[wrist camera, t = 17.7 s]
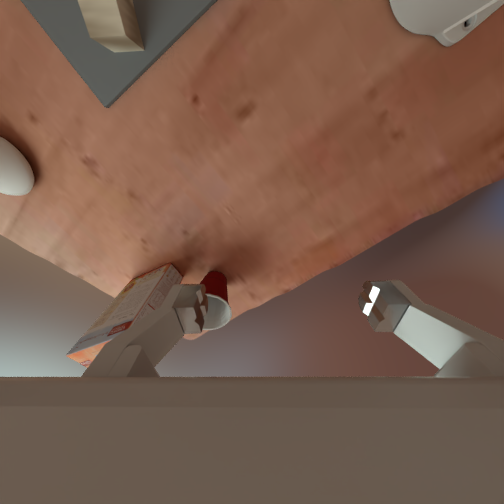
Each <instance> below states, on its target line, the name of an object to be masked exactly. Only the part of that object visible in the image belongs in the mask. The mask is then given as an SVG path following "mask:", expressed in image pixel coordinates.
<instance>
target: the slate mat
mask: <svg viewBox="0 0 504 504" xmlns="http://www.w3.org/2000/svg"><path fill="white" fill-rule="evenodd" d="M21 1H22V3H23V4H24V5H25V6H26V8H27V9H28V10H29V12H30V13H31V14H32V15H33V17H34V18H35V19H36V20H37V22H38V23H39V24H40V25H41V27H42V28H43V29H44V31H45V32H46V33H47V34H48V36H49V37H50V38H51V39H52V41H53V42H54V43H55V45H56V46H57V47H58V48H59V50H60V51H61V52H62V53H63V55H64V56H65V57H66V59H67V60H68V61H69V62H70V64H71V65H72V66H73V67H74V69H75V70H76V71H77V72H78V74H79V75H80V76H81V78H82V79H83V80H84V81H85V83H86V84H87V85H88V86H89V88H90V89H91V90H92V92H93V93H94V94H95V95H96V97H97V98H98V99H99V100H100V102H101V103H102V104H103V105H104V107H106V108H109V107H110V106H111V105H112V104H113V103H114V102H115V101H116V100H117V99H118V98H119V97H120V96H121V95H122V94H123V93H124V92H125V91H126V90H127V89H128V88H129V87H130V86H131V85H132V84H133V83H134V82H135V81H136V80H137V79H138V78H139V77H140V76H141V75H142V74H143V73H144V72H145V71H146V70H147V69H148V68H149V67H150V66H151V65H152V64H153V63H154V62H155V61H156V60H157V59H158V58H159V57H160V56H161V55H162V54H164V53H165V52H166V51H167V50H168V49H169V48H170V47H171V46H172V45H173V44H174V43H175V42H176V41H177V40H178V39H179V38H180V37H181V36H182V35H183V34H184V33H185V32H186V31H187V30H188V29H189V28H190V27H191V26H192V25H193V24H194V23H195V22H196V21H197V20H198V19H199V18H200V17H201V16H202V15H203V14H204V13H205V12H206V11H207V10H208V9H209V8H210V7H211V6H212V5H213V4H214V3H215V2H216V1H217V0H133V4H134V9H135V13H136V17H137V21H138V25H139V29H140V34H141V38H142V42H143V46H144V50H145V51H131V52H115V53H114V52H113V51H111V50H109V49H108V48H106V47H105V46H103V45H101V44H100V43H98V42H97V41H95V40H93V39H92V38H90V35H89V32H88V29H87V26H86V24H85V21H84V18H83V15H82V12H81V9H80V6H79V3H78V0H21Z"/></svg>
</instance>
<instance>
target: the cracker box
mask: <svg viewBox="0 0 504 504" xmlns="http://www.w3.org/2000/svg"><path fill="white" fill-rule="evenodd" d="M182 279H183V277H182V275H181V274H180V273H179V272H178V271H177V270H176V268H175V267H174V266H173V265H172V264H171V263H168V264H166V265H164V266H162V267H159V268H157V269H155V270H153V271H151V272H148V273H146V274H144V275H141V276H139V277H137V278H135V279H132V280H131V281H130V282H129V283H128V284H127V285H126V286H125V288H124V289H123V290H122V291H121V292H120V293H119V294H118V296H117V297H116V298H115V299H114V300H113V301H112V303H111V304H110V305H109V306H108V307H107V308H106V310H105V311H104V312H103V313H102V314H101V315H100V316H99V318H98V319H97V320H96V321H95V322H94V323H93V325H92V326H91V327H90V328H89V329H88V330H87V332H86V333H85V334H84V335H83V336H82V337H81V338H80V339H79V341H78V342H77V343H76V344H75V345H74V347H73V348H72V349H71V350H70V351H69V353H67V355H66V356H67V357H69V358H71V359H73V360H75V361H77V362H79V363H80V364H82V365H83V366H85V367H87V368H88V367H89V365H90V364H91V363H92V361H93V360H94V359H95V357H96V356H97V355H98V353H99V352H100V351H101V349H102V348H103V346H104V345H105V344H106V343H108V342H109V341H111V340H112V339H113V338H115V337H116V336H118V335H119V334H121V333H122V332H124V331H125V330H126V329H128V328H129V327H131V326H132V325H134V324H135V323H137V322H138V321H139V320H141V319H142V318H144V317H145V316H147V315H148V314H150V313H151V312H152V311H154V310H155V309H157V308H160V307H161V305H162V304H163V302H164V300H165V298H166V297H167V295H168V293H169V291H170V290H171V288H172V286H173V285H175V284H180V283H181V281H182Z"/></svg>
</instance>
